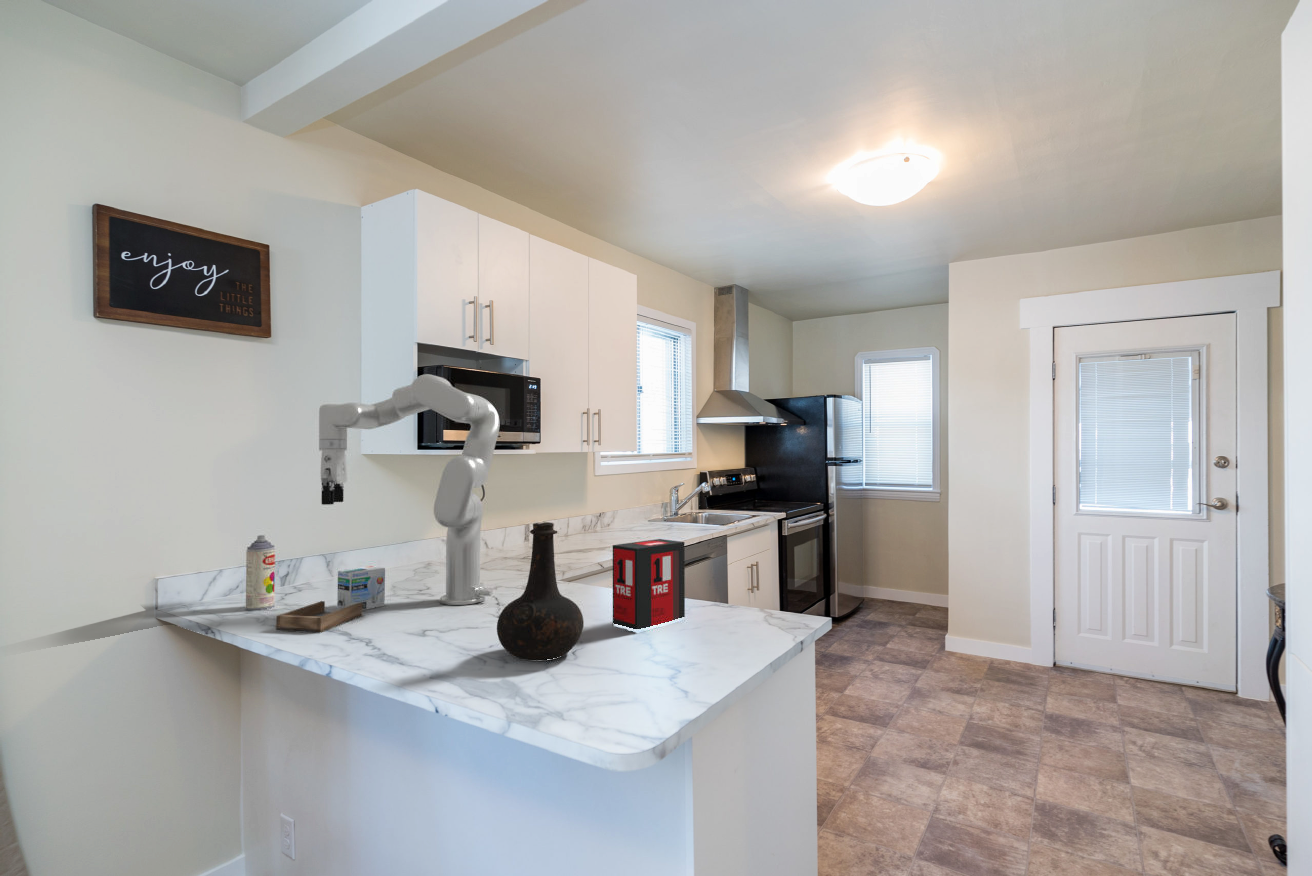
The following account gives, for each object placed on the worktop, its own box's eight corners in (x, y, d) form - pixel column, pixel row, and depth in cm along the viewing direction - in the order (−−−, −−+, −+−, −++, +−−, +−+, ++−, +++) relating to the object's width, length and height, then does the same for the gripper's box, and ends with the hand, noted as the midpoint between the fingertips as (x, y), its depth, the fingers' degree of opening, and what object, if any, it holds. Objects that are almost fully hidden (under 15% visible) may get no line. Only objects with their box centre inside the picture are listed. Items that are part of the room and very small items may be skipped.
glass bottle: (479, 663, 132) (480, 525, 132) (527, 639, 148) (527, 517, 149) (556, 673, 125) (557, 528, 126) (597, 647, 142) (597, 520, 143)
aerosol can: (265, 610, 177) (266, 537, 177) (240, 610, 176) (241, 537, 177) (279, 604, 184) (280, 534, 184) (254, 604, 183) (255, 534, 184)
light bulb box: (350, 613, 173) (351, 573, 174) (336, 610, 177) (336, 570, 177) (386, 605, 182) (386, 567, 183) (371, 602, 186) (371, 565, 186)
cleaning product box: (637, 633, 153) (637, 548, 154) (612, 626, 160) (612, 545, 160) (684, 620, 165) (684, 542, 165) (660, 614, 171) (659, 538, 172)
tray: (362, 616, 170) (362, 602, 170) (320, 632, 155) (320, 617, 155) (321, 614, 172) (321, 601, 172) (276, 630, 157) (276, 615, 157)
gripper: (338, 445, 185) (337, 505, 185) (354, 446, 202) (354, 500, 202) (309, 445, 184) (309, 505, 183) (328, 446, 201) (328, 501, 200)
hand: (332, 503), depth 193 cm, fingers open, 9 cm apart
